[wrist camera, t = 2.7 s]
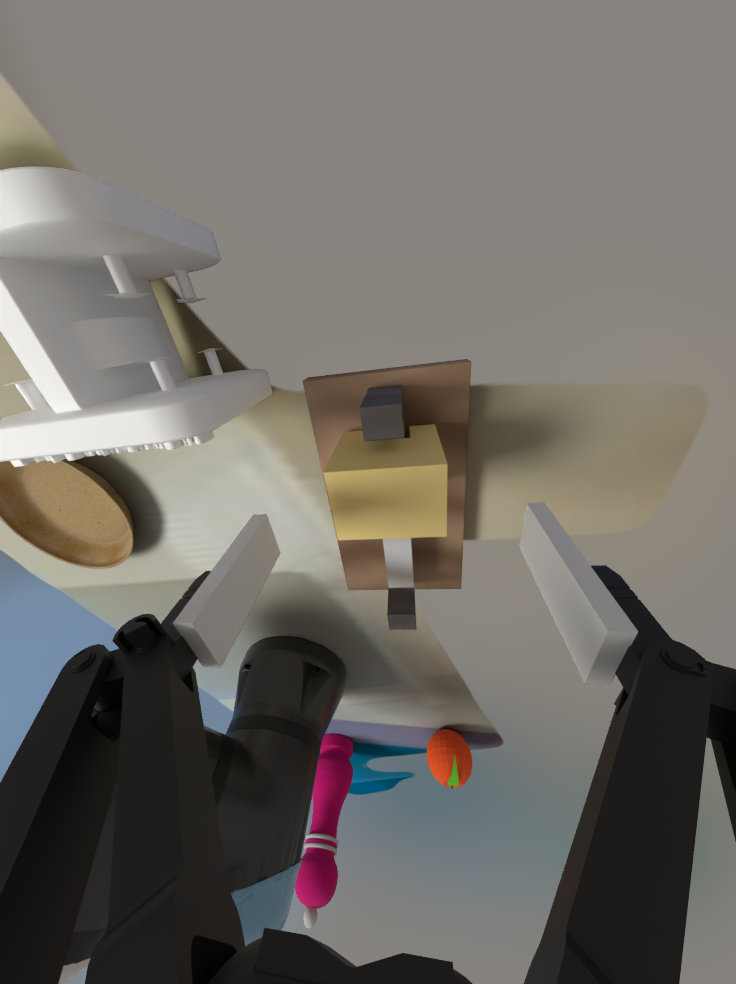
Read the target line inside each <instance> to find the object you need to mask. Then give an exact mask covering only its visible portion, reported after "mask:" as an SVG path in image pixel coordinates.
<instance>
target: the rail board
mask: <svg viewBox="0 0 736 984" xmlns="http://www.w3.org/2000/svg"><path fill="white" fill-rule="evenodd" d="M470 371H471V361H469V360H467V359H464V360H455V361H446V362H438V363H429V364H421V365H412V366H404V367H395V368H387V369H378V370H369V371H361V372H353V373H344V374H335V375H326V376H318V377H309V378H307V379H305V380H304V381H303V385H304V389H305V394H306V398H307V403H308V408H309V412H310V417H311V421H312V426H313V430H314V435H315V440H316V444H317V449H318V453H319V458H320V462H321V467H322V472H324V470H325V468H326V466H327V464H328V462H329V460H330V458H331V456H332V454H333V452H334V450H335V448H336V446H337V444H338V442H339V440H340V438H341V436H342V434H343V432H350V431H361V430H363V437H364V441H367V440H369V441H376V440H389V439H401V438H410V430H409V426H418V425H429V424H435V426H436V429H437V432H438V436H439V439H440V442H441V445H442V448H443V451H444V455H445V458H446V461H447V537H420V538H392V539H363V540H338V538H337V540H338V545H339V549H340V554H341V559H342V563H343V568H344V572H345V577H346V581H347V586H348V590H389V592H388V614H387V615H388V622H389V629H412V630H416V613H415V592H414V589H461V576H462V554H463V531H464V509H465V486H466V464H467V441H468V419H469V396H470V374H471V372H470ZM323 476H324V474H323ZM324 481H325V478H324ZM325 485H326V483H325ZM326 490H327V487H326ZM327 495H328V492H327ZM328 499H329V497H328ZM329 504H330V501H329ZM330 508H331V506H330ZM331 513H332V510H331ZM332 517H333V515H332ZM333 522H334V520H333ZM334 527H335V524H334ZM335 531H336V529H335ZM336 536H337V533H336Z"/></svg>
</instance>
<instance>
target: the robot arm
mask: <svg viewBox="0 0 736 984" xmlns="http://www.w3.org/2000/svg"><path fill="white" fill-rule="evenodd" d="M519 548H520V550H521V553H522V554H523V556H524V558H525V561H526V563H527V565H528V567H529V569H530V571H531V573H532V575H533V577H534V579H535V582H536V584H537V586H538V588H539V590H540V592H541V594H542V596H543V598H544V600H545V602H546V604H547V607H548V608H549V610H550V613H551V615H552V617H553V619H554V621H555V623H556V625H557V627H558V629H559V631H560V633H561V635H562V637H563V640H564V642H565V644H566V646H567V648H568V650H569V652H570V654H571V656H572V658H573V661H574V663H575V665H576V667H577V669H578V671H579V673H580V675H581V677H582V679H583V681H584V683H585V684H608V685H610V684H611V682H612V680H613V679H614V677H615V675H617V677H618V679H619V681H620V682H621V684H622V686H623V689H622V691H621V693H620V694H619V696H618V698H617V700H616V702H615V703H614V705H616V709H615V712H614V715H613V718H612V721H611V724H610V727H609V731H608V734H607V737H606V740H605V743H604V746H603V749H602V752H601V756H600V759H599V762H598V765H597V768H596V771H595V774H594V777H593V780H592V783H591V787H590V790H589V793H588V796H587V799H586V803H585V805H584V809H583V812H582V815H581V818H580V821H579V824H578V827H577V830H576V833H575V836H574V840H573V843H572V846H571V849H570V852H569V855H568V858H567V862H566V865H565V868H564V871H563V874H562V877H561V880H560V883H559V886H558V889H557V892H556V896H555V899H554V902H553V905H552V908H551V911H550V914H549V917H548V920H547V924H546V927H545V930H544V933H543V936H542V939H541V942H540V944H539V947H538V949H537V951H536V953H535V955H534V958H533V960H532V962H531V965H530V967H529V970H528V973H527V976H526V979H525V982H524V984H679V980H680V971H681V962H682V953H683V943H684V935H685V926H686V916H687V908H688V899H689V890H690V881H691V872H692V863H693V853H694V845H695V836H696V827H697V818H698V809H699V800H700V791H701V782H702V773H703V764H704V755H705V746H706V737H707V738H710V739H711V742H712V746H713V750H714V754H715V758H716V763H717V767H718V770H719V775H720V779H721V783H722V787H723V791H724V795H725V799H726V804H727V808H728V811H729V816H730V820H731V824H732V828H733V832H734V836H735V840H736V669H732V668H729V667H725V666H721V665H718V664H714V663H711V662H708V661H706V660H705V659H704V658H703V657H702V656H701V655H699V654H698V653H697V652H696V651H695V650H693V649H691V648H689V647H688V646H686V645H684V644H682V643H680V642H677V641H674V640H672V639H671V638H670V637H669V635H668V634H667V633H666V632H665V630H664V629H663V628H662V627H661V626H660V624H659V623H658V622H657V621H656V619H655V618H654V617H653V616H652V614H651V613H650V612H649V611H648V610H647V608H646V607H645V606H644V605H643V603H642V602H641V601H640V600H638V597H637V596H636V595H635V593H634V592H633V591H632V590H630V587H629V586H628V585H627V584H626V583H625V581H624V580H623V579H622V577H621V576H620V575H618V574H617V573H616V572H614V571H613V570H611V569H610V568H608V567H607V566H590V565H589V563H588V562H587V561H586V559H585V558H584V556H583V555H582V554H581V552H580V551H579V549H578V548H577V547H576V545H575V544H574V543H573V541H572V540H571V539H570V537H569V536H568V534H567V533H566V532H565V530H564V529H563V527H562V526H561V525H560V523H559V522H558V521H557V519H556V518H555V516H554V515H553V514H552V512H551V511H550V510H549V508H548V507H547V505H546V504H545V503H527V506H526V511H525V517H524V523H523V529H522V535H521V541H520V546H519ZM279 555H280V551H279V548H278V545H277V542H276V539H275V536H274V534H273V531H272V528H271V525H270V522H269V520H268V517H267V514H262V515H253V516H252V517H251V519H250V520H249V521H248V523H247V524H246V525H245V527H244V528H243V529H242V531H241V532H240V533H239V535H238V536H237V538H236V539H235V540H234V542H233V543H232V544H231V546H230V547H229V548H228V550H227V551H226V552H225V554H224V555H223V556H222V558H221V559H220V560H219V562H218V563H217V564H216V566H215V567H214V568H213V570H212V571H206V572H204V573H203V574H202V575H201V576H199V577H198V578H197V579H196V580H195V581H194V582H193V583H192V585H191V586H190V587H189V589H188V591H186V592H185V594H184V595H183V596H182V599H180V600H179V601H178V603H177V604H176V605H175V606H174V608H173V609H172V610H171V612H170V613H169V614H168V615H167V617H166V618H165V619H164V621H163V622H162V623H161V624H160V623H159V621H158V620H157V619H156V617H155V616H154V615H152V614H143V615H140V616H137V617H135V618H133V619H132V620H130V621H128V622H127V623H125V624H124V625H123V626H122V627H121V628H120V629H119V630H118V631H117V633H116V634H115V636H114V638H113V642H114V643H115V644H116V645H117V646H118V647H119V648H120V649H117V650H114V651H110V652H109V651H108V649H106V647H105V646H104V645H100V644H97V645H93V646H90V647H88V648H86V649H83V650H82V651H80V652H79V653H77V654H76V655H74V657H72V658H71V659H70V660H69V661H68V662H67V663H66V664H65V666H64V667H63V669H62V670H61V672H60V674H59V675H58V677H57V679H56V681H55V683H54V685H53V687H52V688H51V690H50V692H49V694H48V696H47V698H46V700H45V701H44V703H43V705H42V707H41V709H40V711H39V713H38V714H37V716H36V718H35V720H34V722H33V724H32V725H31V727H30V729H29V731H28V733H27V735H26V736H25V739H24V740H23V742H22V744H21V746H20V748H19V749H18V751H17V753H16V755H15V757H14V759H13V760H12V762H11V764H10V766H9V768H8V770H7V772H6V773H5V775H4V777H3V779H2V781H1V783H0V984H65V983H66V982H68V981H69V980H70V979H71V978H73V977H74V976H75V975H77V974H78V973H79V972H81V971H82V970H83V969H85V968H86V967H87V966H88V969H87V975H86V980H85V984H472V983H471V982H470V981H469V980H468V979H467V978H466V977H464V976H463V975H461V974H460V973H459V972H457V971H456V970H454V969H453V962H449V961H443V960H438V959H432V958H426V957H422V956H416V955H411V954H405V953H402V954H398V955H395V956H392V957H388V958H385V959H382V960H379V961H375V962H372V963H368V964H365V965H362V966H358V967H356V966H355V965H353V964H352V963H351V962H349V961H348V960H347V959H345V958H344V957H342V956H341V955H340V954H338V953H337V952H336V951H334V950H333V949H332V948H330V947H329V946H327V945H325V944H323V943H321V942H319V941H317V940H315V939H313V938H311V937H309V936H307V935H302V934H296V933H291V932H286V931H281V929H282V928H283V926H284V924H285V922H286V919H287V917H288V913H289V909H290V905H291V901H292V897H293V892H294V888H295V884H296V880H297V876H298V871H299V869H300V867H301V863H302V859H301V854H302V849H303V843H304V838H305V832H306V826H307V821H308V815H309V810H310V804H311V799H312V793H313V788H314V782H315V777H316V771H317V765H318V760H319V754H320V749H321V744H322V739H323V736H324V734H325V732H326V730H327V728H328V726H329V723H330V721H331V719H332V717H333V715H334V713H335V711H336V709H337V706H338V704H339V702H340V700H341V698H342V695H343V692H344V687H345V680H346V670H345V668H344V666H343V664H342V662H341V661H340V660H339V659H338V658H337V657H336V656H335V655H334V654H333V653H331V652H330V651H328V650H327V649H325V648H323V647H321V646H319V645H317V644H314V643H312V642H309V641H305V640H301V639H296V638H289V637H275V638H268V639H264V640H261V641H259V642H257V643H255V644H253V645H252V646H251V647H250V648H249V649H248V651H247V653H246V655H245V658H244V660H243V662H242V664H241V667H240V671H239V678H238V685H237V693H236V700H235V707H234V714H233V718H232V720H231V723H230V726H229V728H228V730H227V733H226V735H224V734H222V733H220V732H218V731H215V730H213V729H211V728H209V727H206V726H204V725H203V719H202V713H201V706H200V700H199V693H198V687H197V680H196V674H195V671H194V669H193V665H194V664H195V662H196V660H197V659H198V660H199V662H200V663H201V664H202V666H203V667H210V668H221V667H222V665H223V663H224V661H225V659H226V657H227V655H228V653H229V651H230V649H231V647H232V646H233V644H234V642H235V640H236V638H237V636H238V634H239V632H240V630H241V628H242V626H243V624H244V622H245V620H246V618H247V617H248V615H249V613H250V611H251V609H252V607H253V605H254V603H255V601H256V599H257V597H258V595H259V593H260V591H261V589H262V587H263V586H264V584H265V582H266V580H267V578H268V576H269V574H270V572H271V570H272V568H273V566H274V564H275V562H276V560H277V558H278V557H279ZM245 945H247V946H245Z"/></svg>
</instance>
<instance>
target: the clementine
mask: <svg viewBox="0 0 736 984" xmlns="http://www.w3.org/2000/svg"><path fill="white" fill-rule="evenodd" d="M427 759H428V765H429V768H430V770H431V772H432V773H433V775H434V777H435V778H436V779H437V780H438V781H439V782H440V783H441V784H442V785H444V786H446V787H451V788H456V787H460V786H462V785H463V784H464V783H465V782H466V781H467V780H468V779H469V776H470V774H471V769H472V756H471V752H470V749H469V747H468V745H467V743H466V741H465V740H464V739H463V738H462V736H460V735H459V734H458V733H456V732H455V731H453V730H449V729H442V730H439V731H437V732H436V733H434V734H433V735H432V737H431V739H430V740H429V743H428V746H427Z"/></svg>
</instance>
